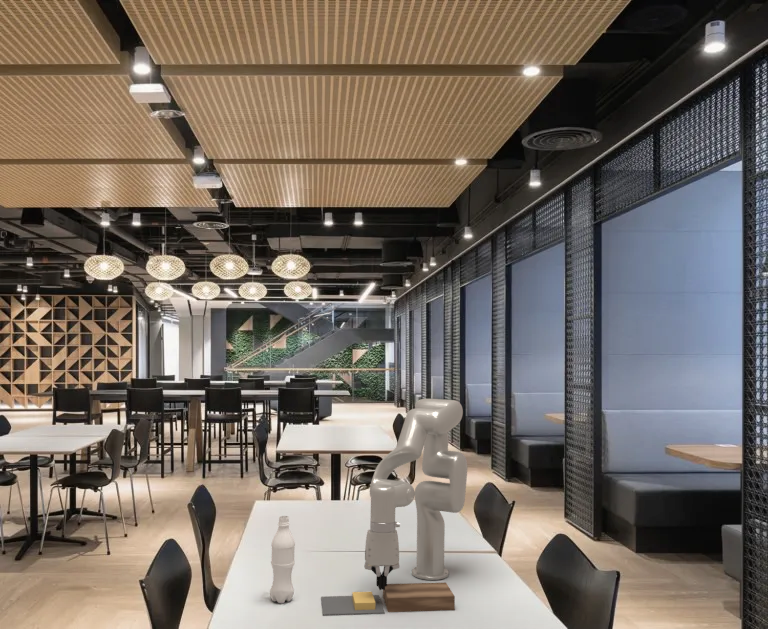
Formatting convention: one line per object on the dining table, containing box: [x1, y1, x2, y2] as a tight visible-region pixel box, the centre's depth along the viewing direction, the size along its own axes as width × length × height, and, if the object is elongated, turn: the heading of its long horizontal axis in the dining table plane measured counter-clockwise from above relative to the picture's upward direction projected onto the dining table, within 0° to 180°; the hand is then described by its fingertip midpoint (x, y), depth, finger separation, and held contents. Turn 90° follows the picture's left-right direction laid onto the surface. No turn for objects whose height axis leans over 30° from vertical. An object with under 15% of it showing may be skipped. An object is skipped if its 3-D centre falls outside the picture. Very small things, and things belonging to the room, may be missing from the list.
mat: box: [320, 594, 386, 617], centre depth 198 cm, size 14×18×1 cm
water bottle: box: [269, 515, 296, 604], centre depth 202 cm, size 7×7×25 cm
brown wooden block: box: [382, 582, 456, 613], centre depth 201 cm, size 12×20×4 cm, turn 97°
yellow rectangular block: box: [351, 591, 375, 610], centre depth 198 cm, size 9×6×2 cm, turn 8°
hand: (381, 588), depth 199 cm, fingers closed
